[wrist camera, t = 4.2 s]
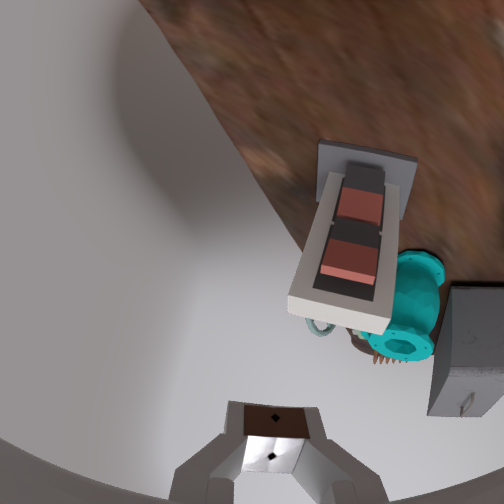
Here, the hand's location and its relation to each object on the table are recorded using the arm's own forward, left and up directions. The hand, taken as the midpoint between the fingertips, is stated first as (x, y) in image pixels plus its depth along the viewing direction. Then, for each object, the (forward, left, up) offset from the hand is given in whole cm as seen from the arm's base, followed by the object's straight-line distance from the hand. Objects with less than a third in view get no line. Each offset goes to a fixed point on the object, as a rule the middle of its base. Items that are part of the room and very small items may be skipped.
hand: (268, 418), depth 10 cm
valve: (+38, -25, -44) cm, 63 cm away
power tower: (+15, -12, -44) cm, 48 cm away
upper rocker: (+14, -12, -29) cm, 35 cm away
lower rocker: (+13, -10, -40) cm, 44 cm away
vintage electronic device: (+65, -9, -44) cm, 79 cm away
